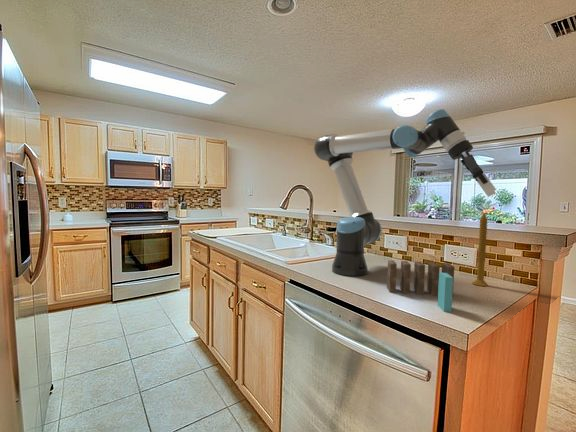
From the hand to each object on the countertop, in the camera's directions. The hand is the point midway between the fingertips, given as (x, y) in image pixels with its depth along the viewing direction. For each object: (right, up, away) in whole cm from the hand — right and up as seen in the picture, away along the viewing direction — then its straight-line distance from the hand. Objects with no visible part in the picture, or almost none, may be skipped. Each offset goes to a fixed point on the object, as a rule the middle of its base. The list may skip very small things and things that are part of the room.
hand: (492, 193), depth 99 cm
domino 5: (-18, -34, -3) cm, 39 cm away
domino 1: (-35, -34, 0) cm, 49 cm away
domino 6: (-26, -35, -16) cm, 46 cm away
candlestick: (+1, -34, +8) cm, 35 cm away
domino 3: (-27, -34, -1) cm, 43 cm away
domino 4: (-22, -34, -2) cm, 41 cm away
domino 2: (-31, -34, -1) cm, 46 cm away
